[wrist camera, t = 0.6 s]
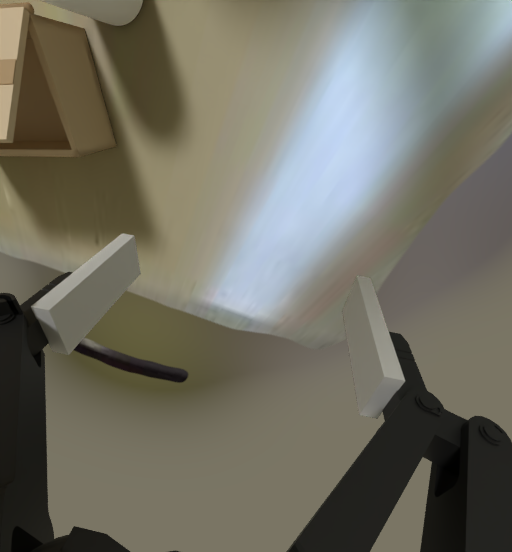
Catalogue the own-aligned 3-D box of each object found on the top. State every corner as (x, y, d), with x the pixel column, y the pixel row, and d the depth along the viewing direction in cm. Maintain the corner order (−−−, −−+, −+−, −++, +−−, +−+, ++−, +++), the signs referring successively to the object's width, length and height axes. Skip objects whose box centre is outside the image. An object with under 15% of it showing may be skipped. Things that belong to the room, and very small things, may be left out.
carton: (-68, 37, 36) (-151, 25, 29) (84, 28, 33) (29, 13, 26) (-12, 145, 43) (-69, 155, 37) (116, 146, 40) (80, 157, 34)
